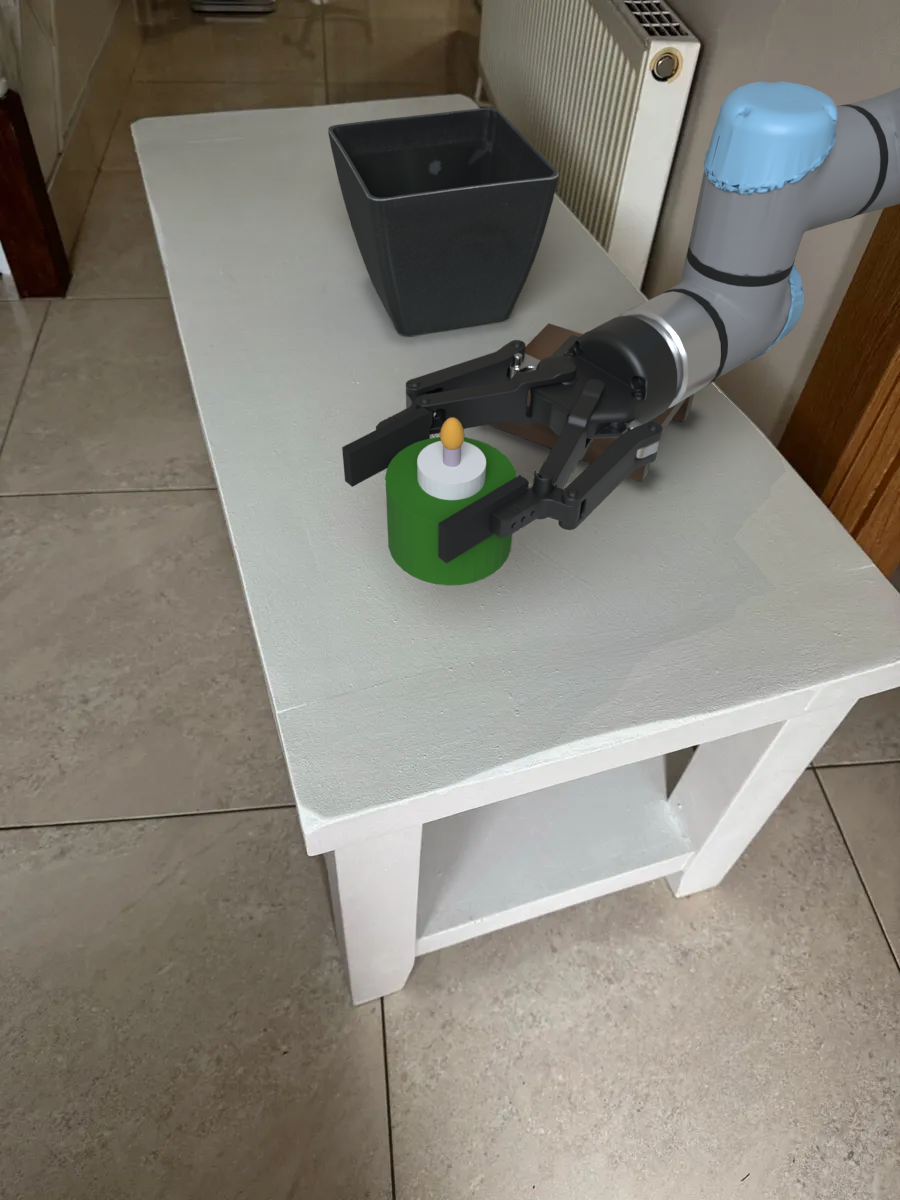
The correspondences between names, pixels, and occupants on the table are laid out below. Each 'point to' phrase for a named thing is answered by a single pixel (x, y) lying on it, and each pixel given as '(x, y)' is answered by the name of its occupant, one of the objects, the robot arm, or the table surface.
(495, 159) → the flower pot
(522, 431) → the small stand
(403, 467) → the candle
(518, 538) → the table surface
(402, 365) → the table surface
